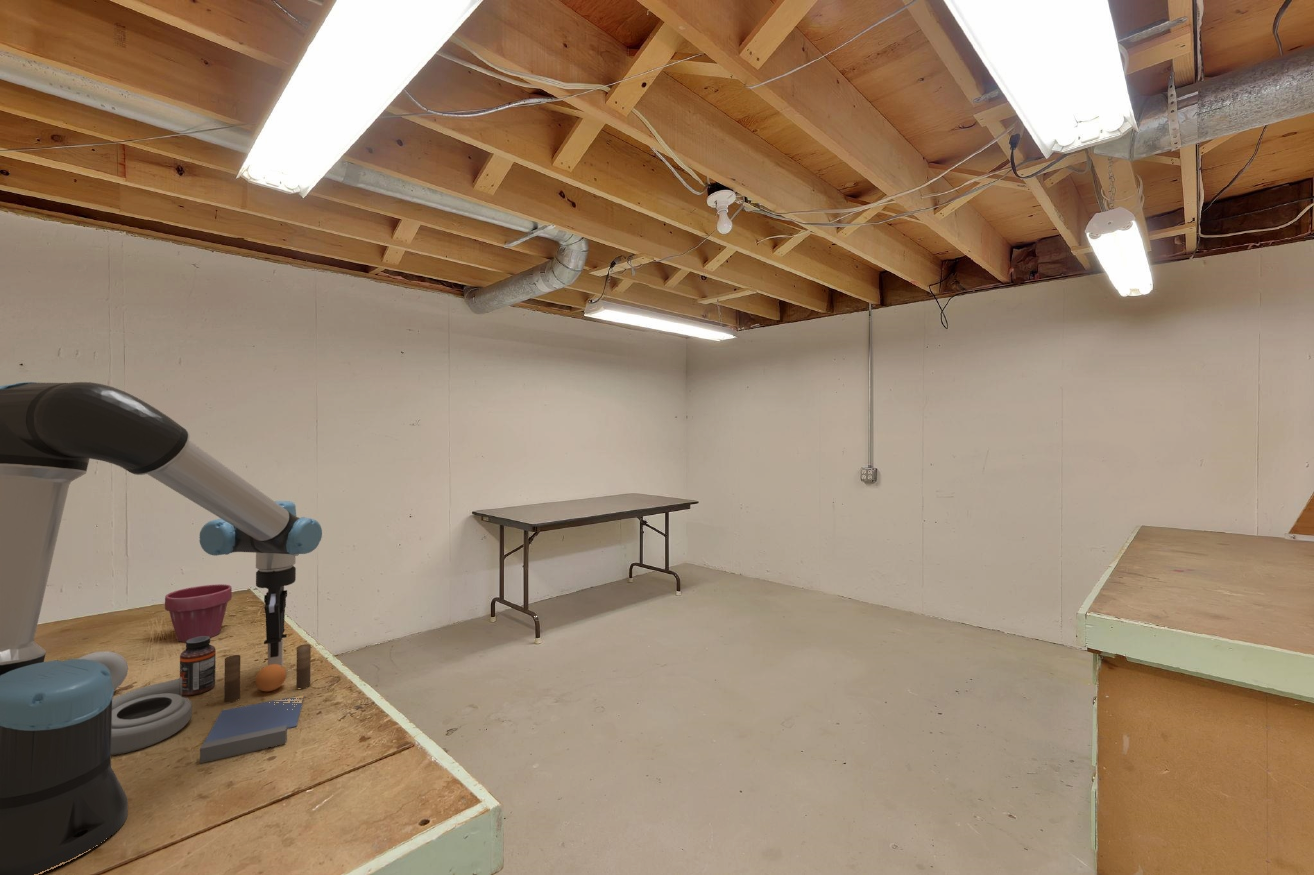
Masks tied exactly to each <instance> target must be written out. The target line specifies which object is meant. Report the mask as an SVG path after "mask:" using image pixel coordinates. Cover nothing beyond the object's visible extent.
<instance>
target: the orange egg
mask: <svg viewBox="0 0 1314 875" xmlns="http://www.w3.org/2000/svg"><path fill="white" fill-rule="evenodd" d="M286 679H287V671H286V668H285V667H284V666H283V667H282V666H281V665H278V664H271V665H268V664H267V665H266V666H264V667H263V668H261V669H260V670H259V671H258V672H257V674H256V676H255V681H254V682H255V686H256V688H257V689H258V690H259V691H261V692H271V691H276V690H277V689H279V688H280V687H281V686H282V685H284V683H285V681H286Z"/></svg>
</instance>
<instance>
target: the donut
mask: <svg viewBox="0 0 1314 875" xmlns="http://www.w3.org/2000/svg"><path fill="white" fill-rule="evenodd" d="M78 659H86V660H93V661H97V662H100V663H102V664H104V665H105V666H106V667H107V668H108V669H109V670H110V673H111V679H112V686H113V689H114V691H116V690H117V689H118V688H119V687H120V686H121V685H122V684H123V682H124V681H125V679H126V678H127V675H128V672H129V665H128V662H127V660H126V658H125V657H124V656H123V655H121V654H119V653H117V652H113V651H108V650H107V651H106V650H104V651H94V652H92V653H91V652H90V653H88V654H87V653H86V654H85V655H82V656H80V657H79V658H78Z"/></svg>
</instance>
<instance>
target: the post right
mask: <svg viewBox="0 0 1314 875" xmlns="http://www.w3.org/2000/svg"><path fill="white" fill-rule="evenodd" d="M311 646H312V645H311V644H309V643H306V644H300V645H298V646H297V647H296V676H295V677H296V683H295V684H296V685H295V686H296V687H295V688H305V689H307V688H306V687H307V686H309V687H310V686H311V661H312V660H311V658H312V657H311V655H312V654H311V652H312V651H311V649H312V648H311Z"/></svg>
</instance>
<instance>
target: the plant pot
mask: <svg viewBox="0 0 1314 875" xmlns="http://www.w3.org/2000/svg"><path fill="white" fill-rule="evenodd" d="M232 590H233V589H232V586H231V585H230V584H223V583H222V584H207V585H199V586H192V587H187V588H182V589H178V590H175V591H172V592H169V593H168V594H166V595H165V596H164V597H165V598H164V610H165V611H167V612H169V615H170V619H171V623H172V628H173V630H174V633H175V637H176V640H177V641H179V642H185V643H186V641H187V640H189V639H192V638H195V637H200V636H209V637H210V638H212V637H216V636H218V634H220V633H221V631H222V630H221V629H222V627H223V622H224V618H225V615H226V611H227V607H228V602H230V601H231V600H232V596H233V595H232V593H233V592H232Z"/></svg>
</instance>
